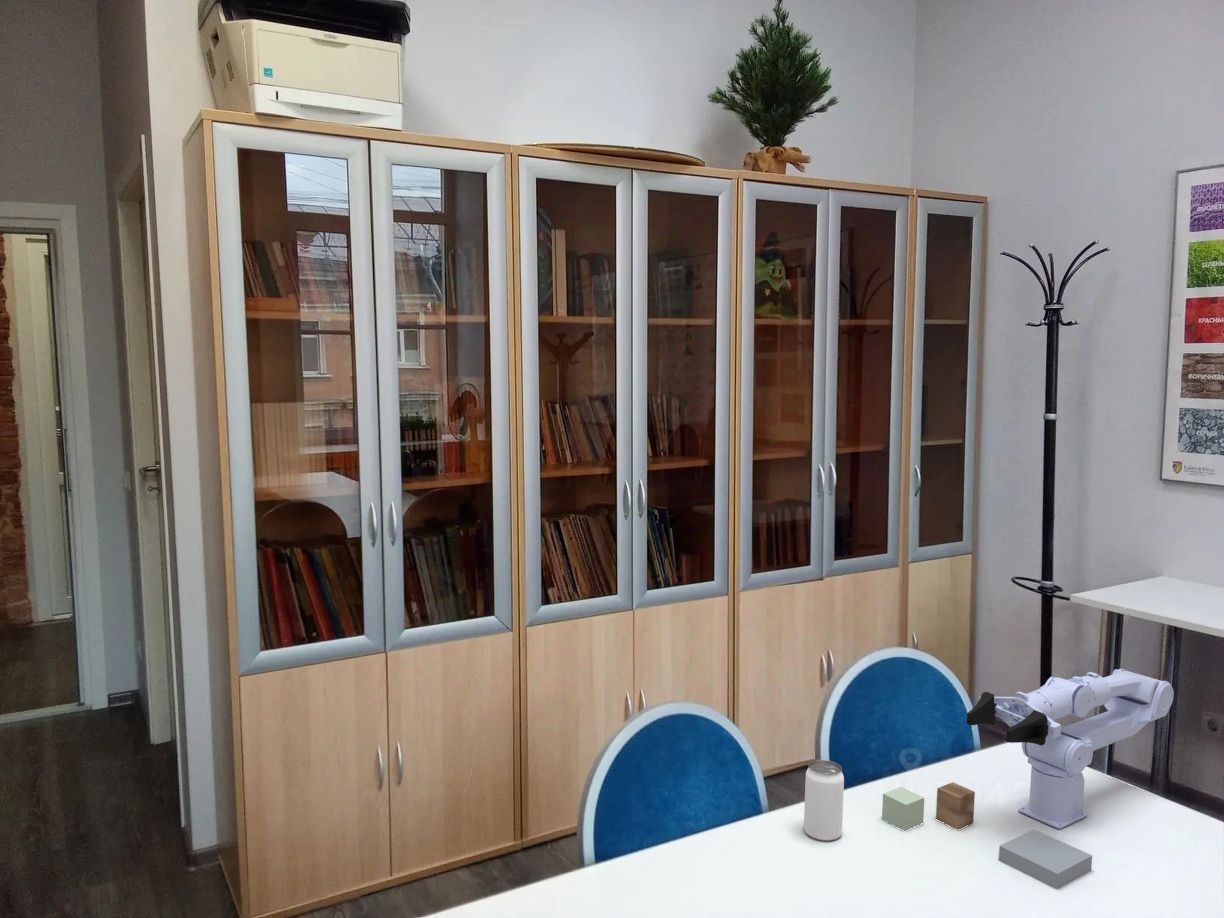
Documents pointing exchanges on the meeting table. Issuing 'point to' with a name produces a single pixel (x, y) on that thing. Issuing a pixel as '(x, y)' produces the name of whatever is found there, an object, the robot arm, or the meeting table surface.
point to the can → (824, 800)
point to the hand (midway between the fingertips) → (988, 727)
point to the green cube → (903, 808)
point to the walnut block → (955, 805)
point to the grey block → (1045, 858)
